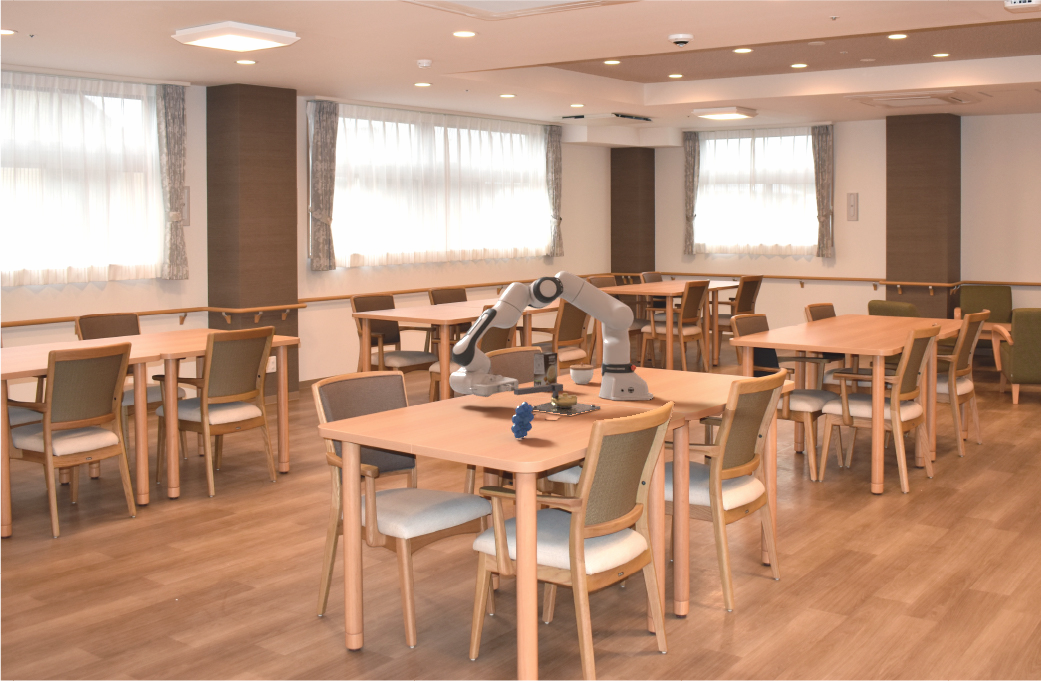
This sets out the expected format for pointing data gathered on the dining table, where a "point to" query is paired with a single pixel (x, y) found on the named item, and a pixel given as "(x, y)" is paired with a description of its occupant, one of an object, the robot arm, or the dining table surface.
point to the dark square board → (565, 408)
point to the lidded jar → (581, 373)
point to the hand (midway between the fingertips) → (512, 388)
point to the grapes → (522, 420)
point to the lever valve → (555, 398)
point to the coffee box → (545, 368)
